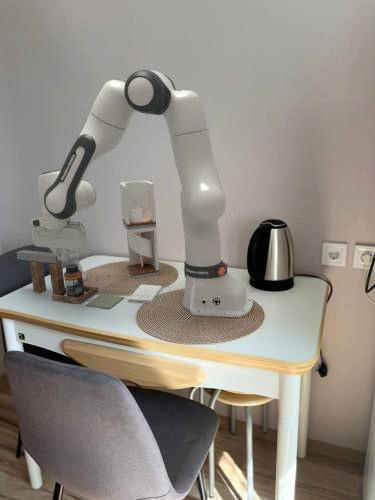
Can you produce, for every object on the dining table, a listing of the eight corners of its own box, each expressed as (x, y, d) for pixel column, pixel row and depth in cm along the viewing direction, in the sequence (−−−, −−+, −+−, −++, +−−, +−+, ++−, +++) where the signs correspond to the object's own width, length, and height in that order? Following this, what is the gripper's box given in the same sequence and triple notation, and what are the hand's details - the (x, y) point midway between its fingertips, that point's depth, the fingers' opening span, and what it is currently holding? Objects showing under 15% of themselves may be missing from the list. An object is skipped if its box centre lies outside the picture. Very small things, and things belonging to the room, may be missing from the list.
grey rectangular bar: (62, 260, 136) (61, 253, 136) (56, 263, 134) (55, 256, 133) (23, 256, 143) (22, 250, 142) (17, 259, 140) (16, 252, 139)
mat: (124, 298, 134) (124, 296, 133) (109, 309, 126) (109, 308, 125) (101, 295, 137) (101, 293, 137) (85, 305, 129) (85, 304, 129)
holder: (98, 292, 140) (95, 260, 136) (79, 304, 130) (75, 271, 126) (47, 285, 148) (42, 255, 144) (25, 296, 138) (20, 264, 135)
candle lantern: (127, 269, 161) (119, 182, 151) (152, 266, 164) (147, 180, 154) (131, 278, 151) (124, 186, 140) (159, 275, 154) (153, 184, 143)
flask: (90, 277, 155) (87, 252, 152) (83, 284, 148) (80, 258, 145) (72, 277, 155) (68, 252, 152) (64, 284, 148) (61, 258, 146)
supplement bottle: (76, 291, 141) (72, 261, 137) (88, 294, 138) (84, 263, 134) (63, 298, 136) (58, 266, 132) (75, 301, 133) (71, 269, 129)
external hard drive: (162, 290, 141) (151, 304, 129) (140, 288, 143) (127, 303, 131) (162, 285, 140) (151, 300, 129) (140, 284, 142) (127, 298, 130)
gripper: (89, 220, 129) (93, 260, 133) (39, 216, 137) (45, 255, 141) (77, 224, 124) (82, 266, 128) (26, 221, 131) (32, 260, 135)
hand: (62, 260), depth 134 cm, fingers closed
